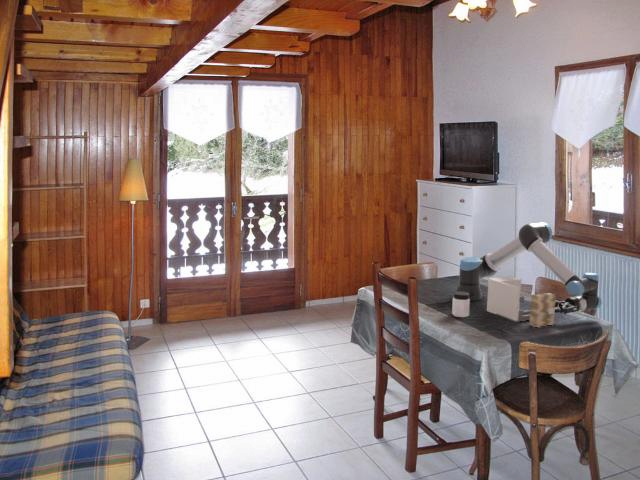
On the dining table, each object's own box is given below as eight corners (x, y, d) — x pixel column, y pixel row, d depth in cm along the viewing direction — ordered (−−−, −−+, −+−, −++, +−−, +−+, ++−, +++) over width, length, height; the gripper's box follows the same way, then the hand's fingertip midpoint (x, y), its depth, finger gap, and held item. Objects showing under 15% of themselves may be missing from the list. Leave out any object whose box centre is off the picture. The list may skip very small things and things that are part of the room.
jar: (450, 316, 336) (451, 294, 335) (453, 312, 344) (454, 290, 342) (467, 318, 333) (468, 295, 331) (470, 314, 340) (471, 292, 338)
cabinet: (509, 308, 354) (511, 276, 351) (539, 319, 333) (541, 285, 330) (486, 310, 348) (488, 278, 345) (515, 322, 326) (517, 288, 324)
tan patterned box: (547, 323, 326) (549, 292, 323) (553, 325, 322) (555, 294, 320) (529, 325, 321) (531, 294, 318) (535, 327, 317) (537, 296, 315)
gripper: (591, 317, 319) (557, 321, 310) (558, 306, 339) (525, 310, 330) (592, 302, 318) (558, 307, 309) (559, 292, 338) (526, 296, 329)
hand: (541, 308), depth 320 cm, fingers open, 10 cm apart
